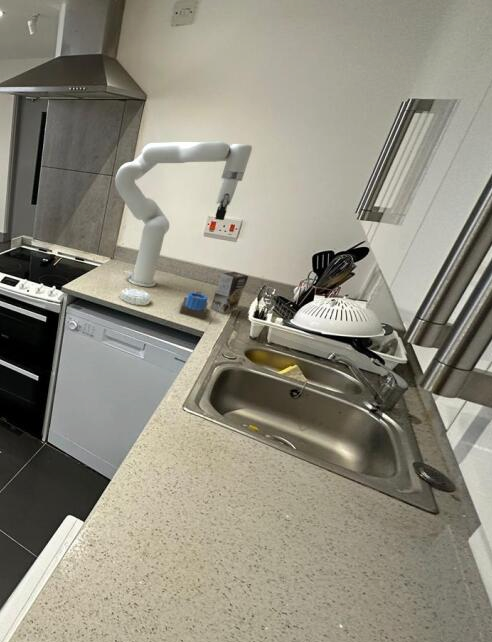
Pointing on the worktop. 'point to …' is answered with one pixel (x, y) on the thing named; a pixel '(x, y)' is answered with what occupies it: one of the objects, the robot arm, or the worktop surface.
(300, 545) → the worktop surface
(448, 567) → the worktop surface
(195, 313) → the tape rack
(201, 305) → the blue ribbed cylinder
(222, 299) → the coffee box
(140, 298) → the mooncake
